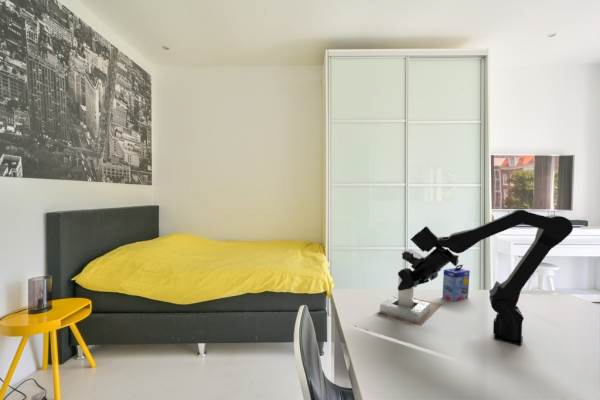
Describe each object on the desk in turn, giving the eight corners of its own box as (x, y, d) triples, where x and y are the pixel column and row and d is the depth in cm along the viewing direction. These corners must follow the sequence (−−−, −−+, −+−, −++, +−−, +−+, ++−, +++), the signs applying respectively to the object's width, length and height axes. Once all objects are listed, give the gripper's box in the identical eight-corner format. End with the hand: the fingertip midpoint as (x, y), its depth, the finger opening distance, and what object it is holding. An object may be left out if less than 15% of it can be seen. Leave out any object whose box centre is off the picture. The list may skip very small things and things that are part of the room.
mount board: (442, 306, 116) (442, 304, 116) (421, 328, 97) (421, 325, 97) (403, 297, 125) (403, 295, 125) (376, 315, 106) (376, 313, 106)
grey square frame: (429, 311, 109) (430, 303, 109) (417, 323, 99) (418, 313, 99) (394, 302, 117) (394, 295, 117) (379, 312, 107) (380, 304, 107)
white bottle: (415, 306, 108) (415, 269, 108) (410, 310, 104) (410, 272, 104) (401, 303, 111) (401, 267, 111) (395, 307, 107) (396, 270, 107)
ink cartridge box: (454, 303, 119) (455, 266, 119) (441, 299, 124) (442, 263, 124) (469, 299, 124) (470, 264, 124) (456, 295, 129) (457, 261, 129)
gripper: (429, 240, 111) (400, 265, 119) (404, 245, 98) (373, 273, 106) (452, 265, 105) (420, 290, 114) (427, 274, 93) (394, 301, 101)
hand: (402, 287), depth 109 cm, fingers closed on white bottle, 5 cm apart
